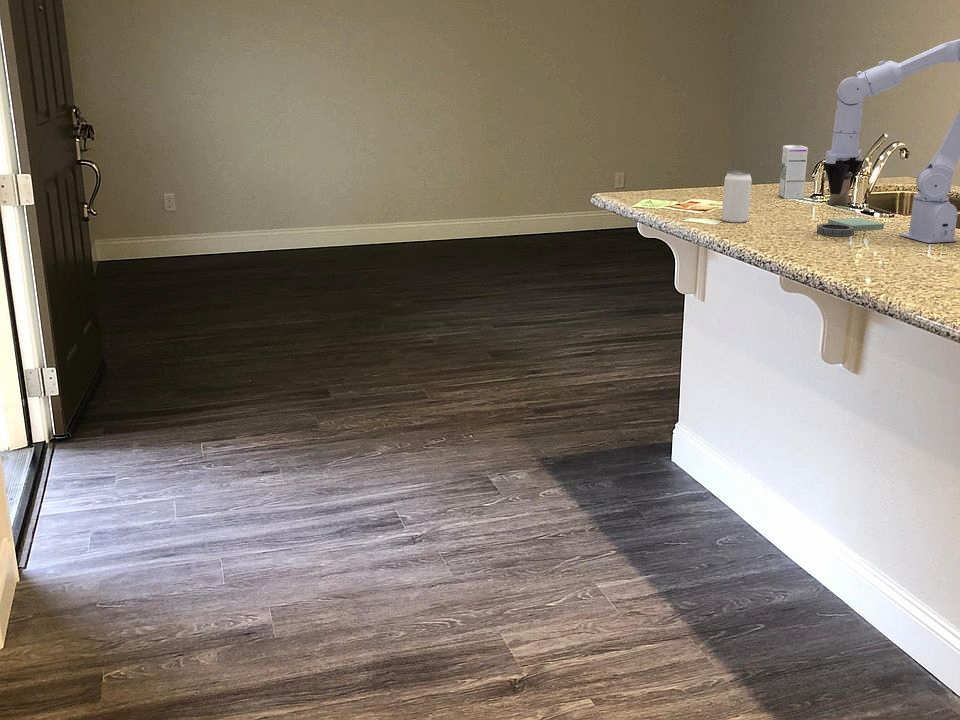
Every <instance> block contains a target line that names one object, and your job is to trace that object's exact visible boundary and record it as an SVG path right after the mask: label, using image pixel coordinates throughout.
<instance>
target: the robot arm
mask: <svg viewBox="0 0 960 720" xmlns="http://www.w3.org/2000/svg"><path fill="white" fill-rule="evenodd" d="M940 63H957V64H958V63H960V38H959V39H955V40H950V41H947V42H944V43H941V44H938V45H937V46H936V45H935V46H934V47H932V48H930V49H928V50H926V51H923V52H920V53H919V54H916V55H915V56H912V57H910V58H907V59H906V60H904V61H901V62H896V61H893V60H888V61H885V60H880V61H879V62H878V63H877V64H878V65H876V66H873V67H872V68H869V69H866V70H864V71H861V70H859V71H857V72H856V76H850V77H846V78H844V79H843V80H841V82H840V83H839V85H838V87H837V90H836V94H837V97H838V101H837V103H836V110H835V113H834V114H835V115H834V125H833V131H832V132H833V134H832V140H831V150H826V152H825V160H824V161H823V166H822V167H823V168H824V170H825V173H826V176H827V180H828V182H827V183H828V190H829V195H830V194H837V195H839V194H840V193H841V190H842V186H843V181H844V178H845V175H846V173H847V172H851V173H853V175H852V177H851V180H850V187H849V192H850V191H851V189H852V186H853V182H854V180H855V177H856V175H857V173H858V172H859V169H860V168H861V167H862V166H863V162H864V160H859V159H862V153H863V149H859V146H860V137H861V129H862V120H863V114H864V112H863V101H864V99H865V98H866V96H867V97H869V98H871V97H873V96H875V95H879V94H881V93H883V92H885V91H888V90H890V89H892V88H895V87H898V86H900V85H901V82H902V80H903V78H904V77H906V76H909V75H912V74H913V73H917V72H919V71H920V72H921V71H922V70H925V69H927V68H930V67H932V66H935V65H937V64H940ZM939 145H940V146H939V147H938V149H937V151H936V153H935V154H934V156H932V158H931V159H930V161H929V163H928V164H927V165H926V167H925V168H923V169H922V170H921V171H920V172H918V174H917V175H916V181H915V184H916V187H917V189H918V190H919V191H918V192H917V193H916V194H915V195H913V199H912V200H913V201H912V208H911V214H910V215H911V216H910V221H909V227H908V228H909V229H908V232H902V233H899V236H900V237H904V238H907V239H911V240H915V241H919V242H922V243H926V244H934V243H947V242H948V243H949V242H957V238H955V235H956V234H955V233H956V228H957V223H958V222H957V221H958V213H959V212H958V209H957V207H956V206H955V205H954V204H953V203H951V202H950V197H949V195H948V194H949V192H950V191H951V189H952V179H953V176H954V175H955V172H956V168H957V165H958V162H959V160H960V108H959V109H958V111H957V113H956V115H955V117H954V119H953V120H952V122H951V124H950V127H949V128H948V130H947V132H946V134H945V136H944V138H943V140H942V141H941V143H940V144H939Z"/></svg>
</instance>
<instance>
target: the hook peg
mask: <svg viewBox="0 0 960 720" xmlns="http://www.w3.org/2000/svg"><path fill="white" fill-rule="evenodd" d="M852 175H853V173H851V172H847V173H846V175H845V178H844V181H843V186H842V190H841V193H840V194H839V195H837V194H830V193H829V199H828V200H829V201H828V204H829V205H831V206H835V207H836V206H837V207H844V206H845V207H846V206H848V203H849V195H850V194H849V193H850V191H849V187H850V180H851V177H852Z"/></svg>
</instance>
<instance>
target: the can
mask: <svg viewBox="0 0 960 720" xmlns="http://www.w3.org/2000/svg"><path fill="white" fill-rule="evenodd" d="M752 179H753V178H752V177H751V172H750V171H746V170H728V171H726V175H725V177H724V181H723V182H724V184H723V196H722V207H721V221H723V222H725V223H730V224H732V223H733V224H743V223H747V222H748V221H749V215H750V204H751V195H752V194H751V192H752V181H753V180H752Z"/></svg>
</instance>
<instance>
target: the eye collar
mask: <svg viewBox="0 0 960 720" xmlns="http://www.w3.org/2000/svg"><path fill="white" fill-rule="evenodd" d="M816 233H817V234H819V235H821V236H822V235H823V236H828V237H838V238H839V237H843V238H844V237H852V236H854V235H855V231H854V227H852V226H849V225H842V224H828V223H820V224H817V225H816Z"/></svg>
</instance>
